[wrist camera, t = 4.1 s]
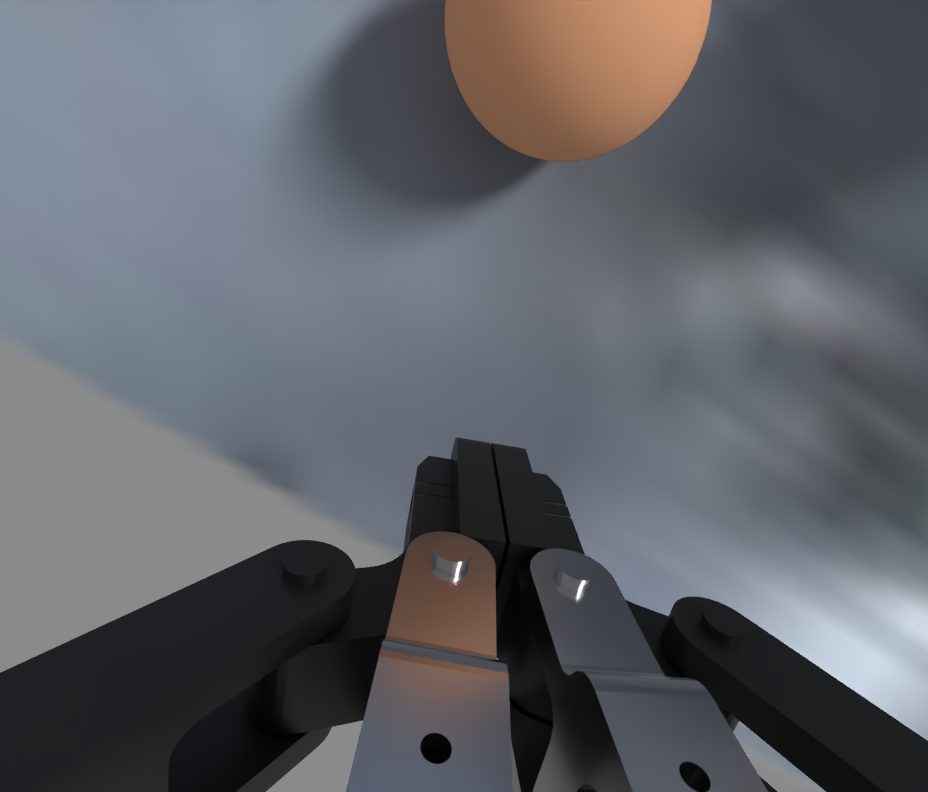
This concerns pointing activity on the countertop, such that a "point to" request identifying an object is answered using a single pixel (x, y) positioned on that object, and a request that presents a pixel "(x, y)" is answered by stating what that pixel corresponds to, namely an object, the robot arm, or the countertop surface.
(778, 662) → the robot arm
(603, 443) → the countertop surface
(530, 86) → the ball
